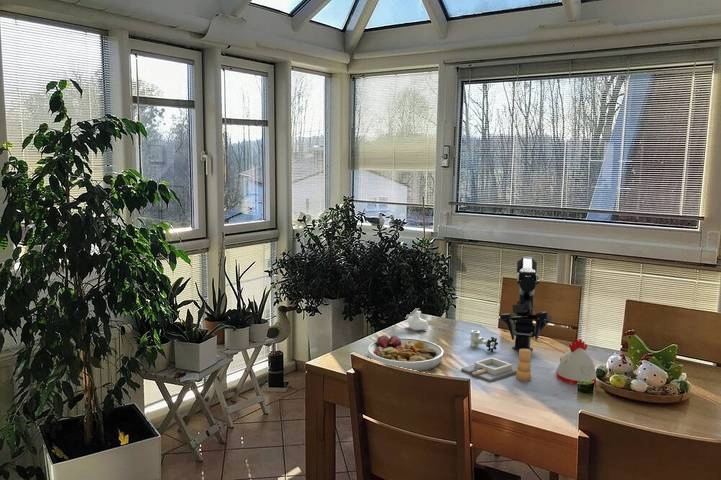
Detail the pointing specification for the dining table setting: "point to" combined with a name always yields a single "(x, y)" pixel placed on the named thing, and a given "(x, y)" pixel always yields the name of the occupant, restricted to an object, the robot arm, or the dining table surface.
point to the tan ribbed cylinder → (524, 365)
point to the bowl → (406, 352)
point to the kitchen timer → (576, 364)
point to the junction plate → (491, 369)
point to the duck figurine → (417, 322)
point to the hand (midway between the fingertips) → (524, 339)
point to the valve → (482, 341)
